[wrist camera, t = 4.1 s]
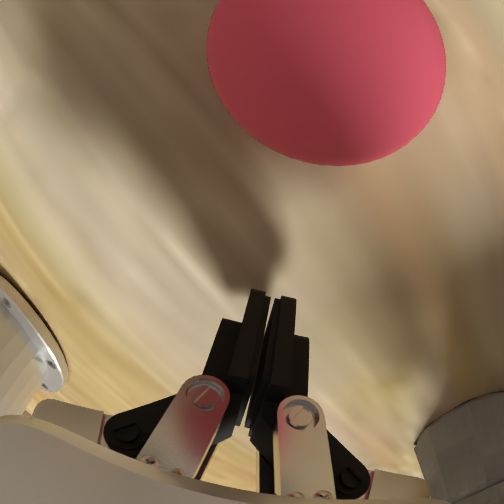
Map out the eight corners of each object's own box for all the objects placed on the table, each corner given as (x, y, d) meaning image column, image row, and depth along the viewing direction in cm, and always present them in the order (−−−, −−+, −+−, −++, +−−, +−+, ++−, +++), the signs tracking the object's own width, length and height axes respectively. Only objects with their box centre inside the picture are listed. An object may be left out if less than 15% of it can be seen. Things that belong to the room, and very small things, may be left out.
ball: (222, 129, 10) (146, 162, 5) (249, -17, 7) (201, -103, 2) (381, 166, 9) (452, 233, 5) (412, 21, 7) (498, -27, 2)
